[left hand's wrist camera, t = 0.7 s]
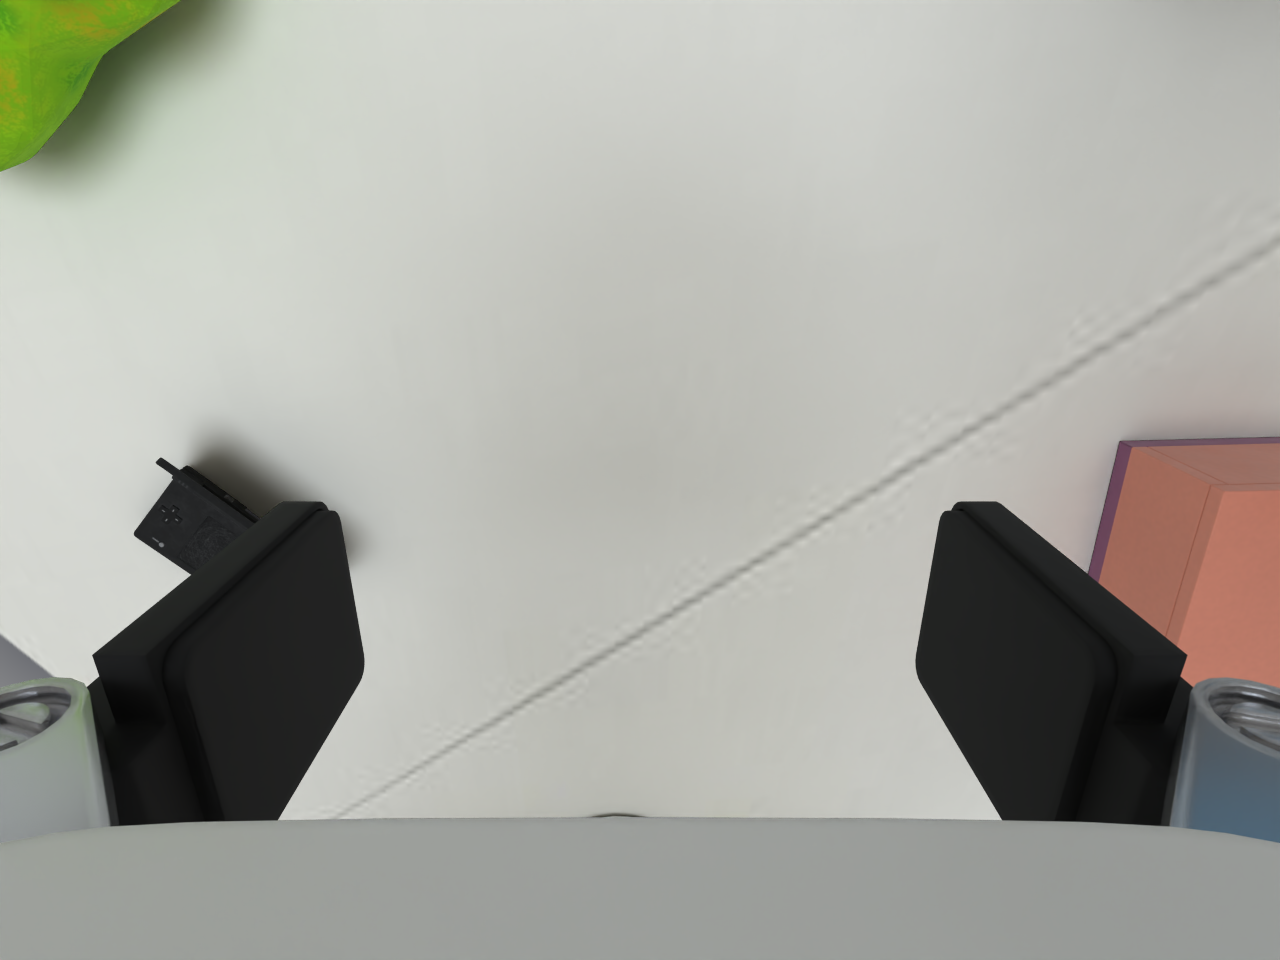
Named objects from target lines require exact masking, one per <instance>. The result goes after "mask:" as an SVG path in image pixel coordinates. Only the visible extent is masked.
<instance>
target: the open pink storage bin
mask: <svg viewBox="0 0 1280 960" xmlns="http://www.w3.org/2000/svg"><path fill="white" fill-rule="evenodd" d="M1088 575H1089V576H1091V577H1092V578H1093V579H1094V580H1096V581H1097V582H1098V583H1099V584H1100V585H1102V586H1103V587H1104V588H1105V589H1107V590H1108V591H1109V592H1110V593H1112V594H1113V595H1114V596H1115V597H1117V598H1118V599H1119V600H1120V601H1121V602H1123V603H1124V604H1125V605H1126V606H1128V607H1129V608H1130V609H1131V610H1133V611H1134V612H1135V613H1136V614H1138V615H1139V616H1140V617H1141V618H1142V619H1144V620H1145V621H1146V622H1147V623H1149V624H1150V625H1151V626H1152V627H1154V628H1155V629H1156V630H1157V631H1159V632H1160V633H1161V634H1162V635H1163V636H1165V637H1166V638H1167V639H1168V640H1170V641H1171V642H1172V643H1173V644H1175V645H1176V646H1177V647H1178V648H1180V649H1181V650H1182V651H1183V652H1184V653H1186V654H1187V655H1188V656H1187V659H1186V662H1185V665H1184V667H1183V670H1182V673H1181V677H1182V678H1183V679H1184V680H1185V681H1187V682H1188V683H1189V684H1190V685H1191V686H1192V687H1194V686H1195V684H1196V683H1198V682H1201V681H1203V680H1206V679H1208V678H1223V677H1229V678H1237V679H1245V680H1251V681H1255V682H1259V683H1263V684H1267V685H1271V686H1275V687H1278V688H1280V437H1265V438H1226V439H1186V440H1147V441H1120V443H1119V448H1118V452H1117V456H1116V460H1115V464H1114V468H1113V473H1112V477H1111V481H1110V485H1109V489H1108V494H1107V498H1106V502H1105V506H1104V510H1103V514H1102V519H1101V523H1100V527H1099V531H1098V535H1097V540H1096V544H1095V548H1094V552H1093V556H1092V560H1091V565H1090V569H1089V573H1088Z"/></svg>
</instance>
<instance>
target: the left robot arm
mask: <svg viewBox="0 0 1280 960" xmlns="http://www.w3.org/2000/svg"><path fill="white" fill-rule="evenodd" d="M92 656H93V659H94V662H95V665H96V667H97V670H98V673H99V677H98V678H97V679H96V680H95V681H93V682H92V683H91V684H90V685H89V686H88V687H86V686H85V684H84V683H82V682H79V681H77V680H74V679H72V678H57V677H51V678H43V679H35V680H29V681H25V682H21V683H17V684H13V685H9V686H5V687H2V688H0V960H1280V688H1278V687H1275V686H1271V685H1267V684H1263V683H1259V682H1255V681H1251V680H1245V679H1237V678H1229V677H1223V678H1208V679H1206V680H1203V681H1201V682H1198V683H1196V684H1195V686H1194V687H1192V686H1191V685H1190V684H1189V683H1188V682H1187V681H1185V680H1184V679H1183V678H1182V677H1181V673H1182V670H1183V667H1184V665H1185V662H1186V659H1187V656H1188V655H1187V654H1186V653H1184V652H1183V651H1182V650H1181V649H1180V648H1178V647H1177V646H1176V645H1175V644H1173V643H1172V642H1171V641H1170V640H1168V639H1167V638H1166V637H1165V636H1163V635H1162V634H1161V633H1160V632H1159V631H1157V630H1156V629H1155V628H1154V627H1152V626H1151V625H1150V624H1149V623H1147V622H1146V621H1145V620H1144V619H1142V618H1141V617H1140V616H1139V615H1138V614H1136V613H1135V612H1134V611H1133V610H1131V609H1130V608H1129V607H1128V606H1126V605H1125V604H1124V603H1123V602H1121V601H1120V600H1119V599H1118V598H1117V597H1115V596H1114V595H1113V594H1112V593H1110V592H1109V591H1108V590H1107V589H1105V588H1104V587H1103V586H1102V585H1100V584H1099V583H1098V582H1097V581H1096V580H1094V579H1093V578H1092V577H1091V576H1089V575H1088V574H1087V573H1086V572H1084V571H1083V570H1082V569H1081V568H1079V567H1078V566H1077V565H1076V564H1075V563H1073V562H1072V561H1071V560H1070V559H1068V558H1067V557H1066V556H1065V555H1063V554H1062V553H1061V552H1060V551H1058V550H1057V549H1056V548H1055V547H1054V546H1052V545H1051V544H1050V543H1049V542H1047V541H1046V540H1045V539H1044V538H1042V537H1041V536H1040V535H1039V534H1037V533H1036V532H1035V531H1034V530H1032V529H1031V528H1030V527H1029V526H1028V525H1026V524H1025V523H1024V522H1023V521H1021V520H1020V519H1019V518H1018V517H1016V516H1015V515H1014V514H1013V513H1011V512H1010V511H1009V510H1008V509H1007V508H1005V507H1004V506H1003V505H1002V504H1000V503H998V502H957V503H956V504H955V505H954V506H953V508H952V510H951V511H945V512H944V513H942V515H941V517H940V521H939V526H938V532H937V537H936V543H935V549H934V555H933V560H932V566H931V572H930V578H929V583H928V589H927V595H926V601H925V606H924V612H923V618H922V624H921V629H920V635H919V641H918V647H917V652H916V671H917V675H918V679H919V681H920V683H921V685H922V686H923V688H924V690H925V691H926V693H927V695H928V696H929V698H930V700H931V701H932V703H933V705H934V706H935V708H936V710H937V711H938V713H939V715H940V716H941V718H942V720H943V721H944V723H945V725H946V726H947V728H948V730H949V732H950V733H951V735H952V737H953V738H954V740H955V742H956V743H957V745H958V747H959V748H960V750H961V752H962V753H963V755H964V757H965V758H966V760H967V762H968V763H969V765H970V767H971V768H972V770H973V772H974V773H975V775H976V777H977V779H978V780H979V782H980V784H981V785H982V787H983V789H984V790H985V792H986V794H987V795H988V797H989V799H990V800H991V802H992V804H993V805H994V807H995V809H996V810H997V812H998V814H999V815H1000V817H1001V819H1002V820H951V819H898V818H694V817H625V816H610V817H586V818H382V819H329V820H278V819H279V817H280V815H281V814H282V812H283V810H284V809H285V807H286V805H287V804H288V802H289V800H290V799H291V797H292V795H293V794H294V792H295V790H296V789H297V787H298V785H299V784H300V782H301V780H302V779H303V777H304V775H305V773H306V772H307V770H308V768H309V767H310V765H311V763H312V762H313V760H314V758H315V757H316V755H317V753H318V752H319V750H320V748H321V747H322V745H323V743H324V742H325V740H326V738H327V737H328V735H329V733H330V732H331V730H332V728H333V726H334V725H335V723H336V721H337V720H338V718H339V716H340V715H341V713H342V711H343V710H344V708H345V706H346V705H347V703H348V701H349V700H350V698H351V696H352V695H353V693H354V691H355V690H356V688H357V686H358V684H359V683H360V681H361V679H362V675H363V671H364V652H363V647H362V641H361V635H360V629H359V624H358V618H357V612H356V606H355V601H354V595H353V589H352V583H351V578H350V572H349V566H348V560H347V555H346V549H345V543H344V537H343V532H342V526H341V521H340V517H339V515H338V513H336V512H335V511H329V510H328V508H327V506H326V505H325V504H324V503H323V502H282V503H280V504H278V505H277V506H276V507H275V508H273V509H272V510H271V511H270V512H269V513H267V514H266V515H265V516H264V517H262V518H261V519H260V520H259V521H257V522H256V523H255V524H254V525H252V526H251V527H250V528H249V529H248V530H246V531H245V532H244V533H243V534H241V535H240V536H239V537H238V538H236V539H235V540H234V541H233V542H231V543H230V544H229V545H228V546H226V547H225V548H224V549H223V550H222V551H220V552H219V553H218V554H217V555H215V556H214V557H213V558H212V559H210V560H209V561H208V562H207V563H205V564H204V565H203V566H202V567H201V568H199V569H198V570H197V571H196V572H194V573H193V574H192V575H191V576H189V577H188V578H187V579H186V580H184V581H183V582H182V583H181V584H180V585H178V586H177V587H176V588H175V589H173V590H172V591H171V592H170V593H168V594H167V595H166V596H165V597H163V598H162V599H161V600H160V601H159V602H157V603H156V604H155V605H154V606H152V607H151V608H150V609H149V610H147V611H146V612H145V613H144V614H142V615H141V616H140V617H139V618H138V619H136V620H135V621H134V622H133V623H131V624H130V625H129V626H128V627H126V628H125V629H124V630H123V631H121V632H120V633H119V634H118V635H117V636H115V637H114V638H113V639H112V640H110V641H109V642H108V643H107V644H105V645H104V646H103V647H102V648H100V649H99V650H98V651H97V652H96V653H94V654H93V655H92Z"/></svg>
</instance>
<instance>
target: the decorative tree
mask: <svg viewBox="0 0 1280 960" xmlns="http://www.w3.org/2000/svg"><path fill="white" fill-rule="evenodd" d="M179 1H181V0H0V172H1V171H3V170H6V169H8V168H11V167H13V166H16V165H18V164H21V163H23V162H25V161H27V160H29V159H30V158H32V157H33V156H34V155H35V154H36V153H37V152H38V151H39V150H40V149H41V148H42V146H43V145H44V144H45V143H46V142H47V140H48V139H49V138H50V137H51V136H52V134H53V133H54V132H55V131H56V130H57V129H58V127H59V126H60V125H61V124H62V123H63V121H64V120H65V119H66V118H67V117H68V115H69V114H70V113H71V112H72V110H73V109H74V108H75V107H76V105H77V104H78V103H79V101H80V99H81V97H82V95H83V93H84V91H85V89H86V87H87V85H88V83H89V81H90V79H91V77H92V75H93V73H94V71H95V69H96V67H97V65H98V63H99V61H100V60H101V58H102V57H103V55H104V54H105V53H107V52H108V51H109V50H110V49H112V48H113V47H114V46H116V45H117V44H119V43H120V42H122V41H123V40H125V39H126V38H127V37H129V36H130V35H132V34H133V33H135V32H136V31H137V30H139V29H140V28H142V27H143V26H145V25H146V24H148V23H149V22H150V21H152V20H153V19H155V18H156V17H158V16H159V15H160V14H162V13H163V12H165V11H166V10H168V9H169V8H171V7H172V6H173V5H175V4H176V3H178V2H179Z"/></svg>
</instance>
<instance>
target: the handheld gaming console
mask: <svg viewBox="0 0 1280 960" xmlns="http://www.w3.org/2000/svg"><path fill="white" fill-rule="evenodd" d="M156 463H157V465H159V466H160V467H162V468H163V469H165V470H166V471H168V472H169V473H170V474H172V475H173V476H172V479H173V480H172V482H171V483H170V484H169V486H168V487H167V488H166V490H165V491H164V492H163V494H162V495H161V496H160V498H159V499H158V501H157V502H156V503H155V505H154V506H153V507H152V509H151V510H150V511H149V513H148V514H147V515H146V517H145V518H144V519H143V521H142V522H141V524H140V525H139V526H138V528H137V529H136V530H135V532H134V536H135V537H137V538H138V539H139V540H141V541H142V542H144V543H145V544H147V545H148V546H150V547H151V548H153V549H154V550H156V551H157V552H159V553H160V554H161V555H163V556H164V557H166V558H167V559H169V560H170V561H172V562H173V563H175V564H176V565H178V566H179V567H181V568H182V569H184V570H185V571H187V572H188V573H189V574H191V575H192V574H193V573H194V572H196V571H197V570H198V569H199V568H201V567H202V566H203V565H204V564H205V563H207V562H208V561H209V560H210V559H212V558H213V557H214V556H215V555H217V554H218V553H219V552H220V551H222V550H223V549H224V548H225V547H226V546H228V545H229V544H230V543H231V542H233V541H234V540H235V539H236V538H238V537H239V536H240V535H241V534H243V533H244V532H245V531H246V530H248V529H249V528H250V527H251V526H252V525H254V524H255V523H256V522H257V521H259V520H260V518H259V517H258V516H256V515H255V514H253V513H252V512H251V511H249V510H248V509H247V507H245V506H244V505H243V504H241V503H240V502H238V501H237V500H236V499H234V498H233V497H231V496H230V495H229V494H227V493H226V492H225V491H223V490H222V489H220V488H219V487H218V486H216V485H215V484H213V483H212V482H211V481H209V480H208V479H207V478H205V477H204V476H202V475H201V474H200V473H198V472H197V471H195V470H194V469H193V468H191V467H190V466H185V467H183V469H181V470H179V469H177V468H176V467H174V466H173V465H171V464H170V463H169V462H167V461H166V460H164V459H163V458H159V459H158V460H157V461H156Z"/></svg>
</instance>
